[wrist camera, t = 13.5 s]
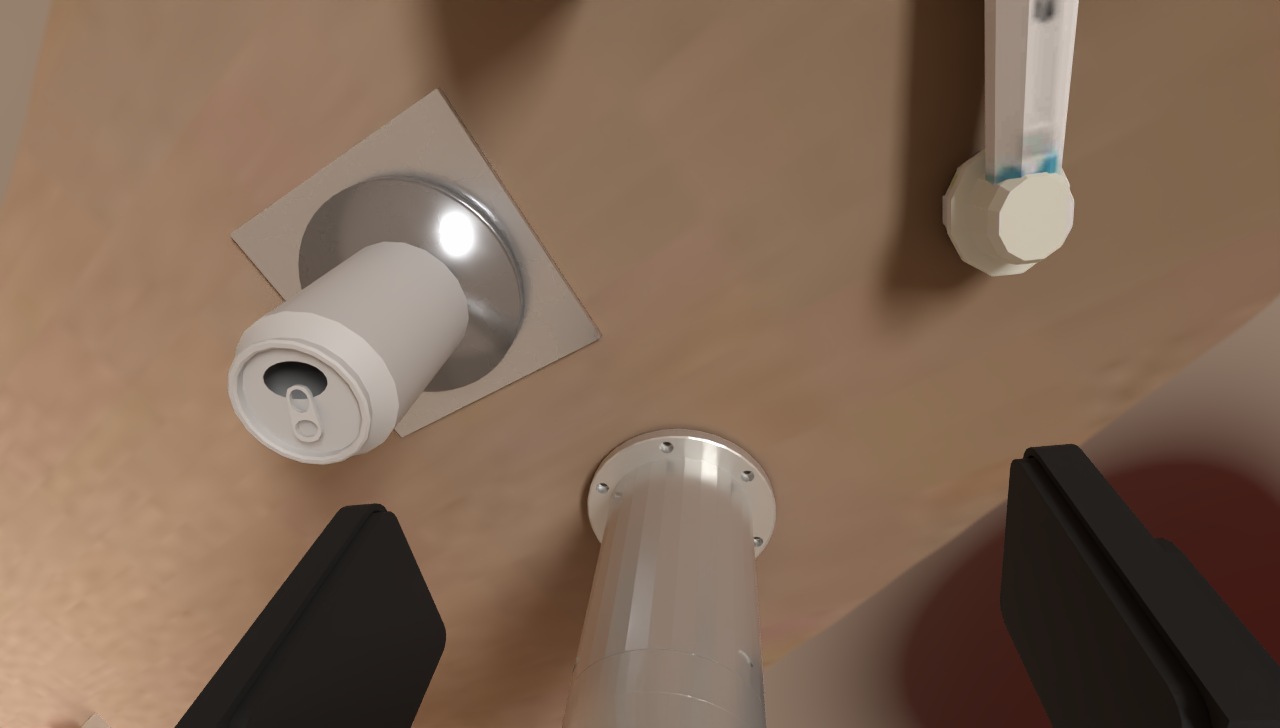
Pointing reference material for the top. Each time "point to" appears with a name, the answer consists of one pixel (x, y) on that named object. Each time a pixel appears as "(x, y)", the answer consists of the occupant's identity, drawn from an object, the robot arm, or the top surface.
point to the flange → (431, 248)
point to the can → (348, 354)
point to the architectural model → (95, 722)
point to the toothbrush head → (1018, 142)
